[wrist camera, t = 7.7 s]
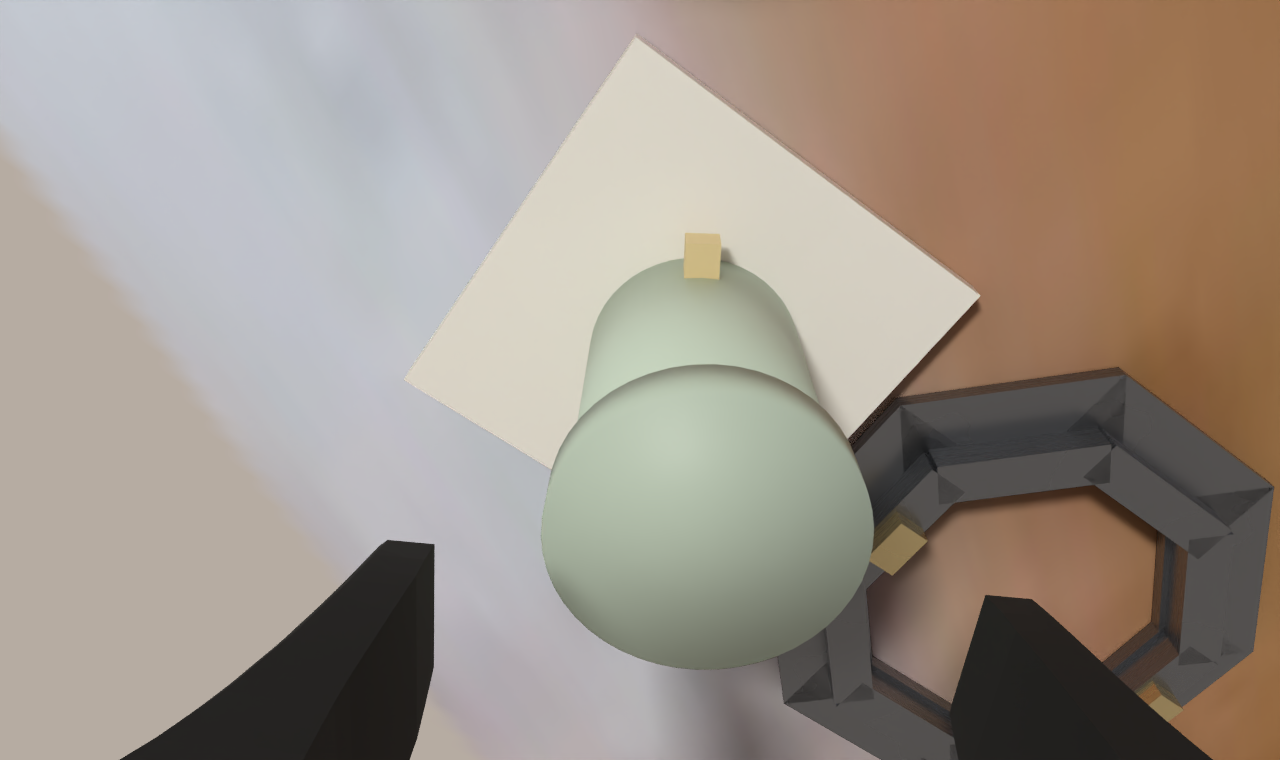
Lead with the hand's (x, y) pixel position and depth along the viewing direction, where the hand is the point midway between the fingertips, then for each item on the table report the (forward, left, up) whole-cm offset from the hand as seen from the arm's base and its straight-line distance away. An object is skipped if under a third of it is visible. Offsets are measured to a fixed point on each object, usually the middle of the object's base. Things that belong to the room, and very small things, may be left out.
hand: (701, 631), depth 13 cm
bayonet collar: (-11, +1, -10) cm, 15 cm away
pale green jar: (0, 0, -10) cm, 10 cm away
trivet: (0, 0, -10) cm, 10 cm away
